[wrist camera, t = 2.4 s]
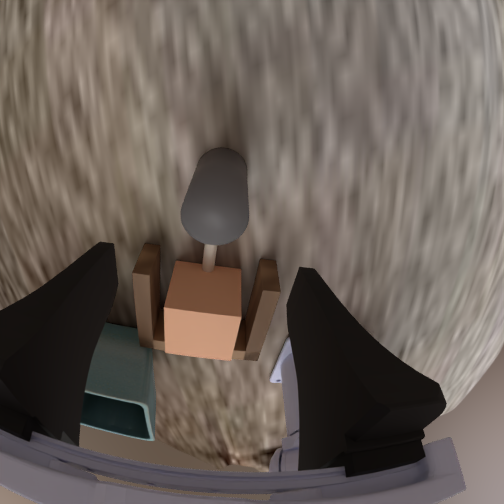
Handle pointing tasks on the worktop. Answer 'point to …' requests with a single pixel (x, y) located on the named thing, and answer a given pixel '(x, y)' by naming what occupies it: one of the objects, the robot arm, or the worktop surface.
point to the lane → (249, 329)
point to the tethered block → (209, 261)
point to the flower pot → (120, 385)
